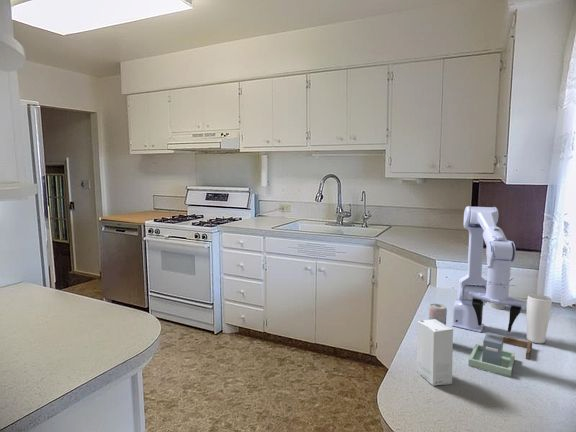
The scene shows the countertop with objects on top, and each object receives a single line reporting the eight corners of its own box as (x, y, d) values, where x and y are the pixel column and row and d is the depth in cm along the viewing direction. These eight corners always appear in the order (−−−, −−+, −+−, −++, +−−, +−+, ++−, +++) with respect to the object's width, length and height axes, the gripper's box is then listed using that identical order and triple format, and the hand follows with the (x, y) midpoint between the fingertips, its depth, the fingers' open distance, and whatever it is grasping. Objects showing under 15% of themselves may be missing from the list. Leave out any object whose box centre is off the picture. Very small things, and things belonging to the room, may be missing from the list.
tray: (468, 365, 111) (468, 359, 110) (475, 349, 121) (476, 343, 121) (510, 377, 105) (511, 370, 104) (514, 359, 115) (515, 353, 115)
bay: (484, 348, 122) (484, 342, 122) (488, 338, 130) (488, 332, 129) (530, 359, 115) (530, 353, 115) (531, 348, 123) (532, 342, 122)
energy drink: (445, 340, 128) (447, 305, 126) (444, 346, 123) (446, 310, 122) (428, 337, 130) (430, 302, 129) (426, 343, 125) (428, 307, 124)
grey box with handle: (481, 364, 111) (483, 340, 110) (485, 354, 117) (486, 332, 116) (499, 368, 108) (501, 344, 107) (501, 358, 114) (503, 335, 114)
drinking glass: (551, 346, 125) (555, 301, 123) (528, 343, 126) (532, 299, 124) (542, 337, 131) (546, 294, 130) (520, 335, 132) (524, 293, 131)
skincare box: (452, 384, 101) (456, 329, 99) (431, 386, 99) (435, 331, 98) (433, 368, 109) (436, 317, 107) (414, 370, 107) (417, 319, 106)
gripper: (468, 281, 112) (464, 326, 113) (526, 290, 104) (522, 338, 105) (472, 275, 118) (469, 318, 119) (528, 284, 109) (524, 330, 111)
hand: (494, 327), depth 112 cm, fingers open, 7 cm apart
